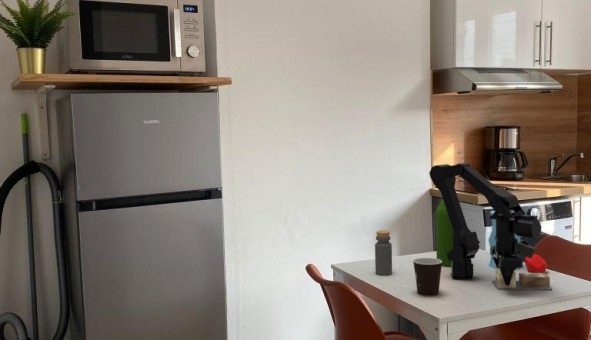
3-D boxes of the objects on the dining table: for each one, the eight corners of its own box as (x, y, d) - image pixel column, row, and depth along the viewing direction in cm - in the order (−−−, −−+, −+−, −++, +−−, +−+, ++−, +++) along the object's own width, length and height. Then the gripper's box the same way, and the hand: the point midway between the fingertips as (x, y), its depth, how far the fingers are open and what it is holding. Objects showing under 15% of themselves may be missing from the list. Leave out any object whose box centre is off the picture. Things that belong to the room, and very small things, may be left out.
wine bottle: (464, 266, 201) (463, 177, 199) (439, 267, 201) (438, 178, 199) (457, 260, 210) (456, 175, 207) (434, 261, 210) (432, 176, 208)
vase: (501, 270, 194) (501, 214, 192) (488, 265, 202) (488, 211, 200) (521, 268, 196) (521, 213, 194) (507, 263, 203) (507, 209, 202)
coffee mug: (437, 298, 165) (436, 265, 165) (409, 294, 170) (409, 262, 169) (448, 288, 175) (448, 257, 174) (422, 285, 180) (422, 254, 179)
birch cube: (499, 287, 173) (499, 272, 172) (495, 283, 178) (495, 268, 177) (515, 288, 172) (515, 272, 171) (512, 283, 177) (512, 268, 176)
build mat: (497, 289, 172) (497, 288, 172) (492, 281, 181) (492, 280, 181) (552, 290, 170) (552, 289, 170) (543, 282, 179) (543, 281, 179)
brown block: (522, 286, 173) (522, 276, 173) (518, 282, 178) (518, 272, 178) (549, 286, 172) (549, 277, 172) (545, 282, 177) (545, 273, 177)
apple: (553, 258, 187) (536, 246, 194) (537, 264, 185) (520, 251, 192) (551, 274, 190) (534, 262, 197) (534, 280, 189) (518, 267, 195)
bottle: (373, 275, 194) (372, 232, 193) (377, 270, 199) (376, 229, 198) (390, 276, 192) (389, 233, 190) (393, 271, 197) (393, 230, 196)
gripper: (541, 240, 163) (540, 292, 164) (524, 228, 181) (524, 275, 183) (501, 240, 165) (501, 291, 166) (489, 228, 183) (489, 275, 184)
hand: (505, 282), depth 175 cm, fingers closed on birch cube, 5 cm apart
